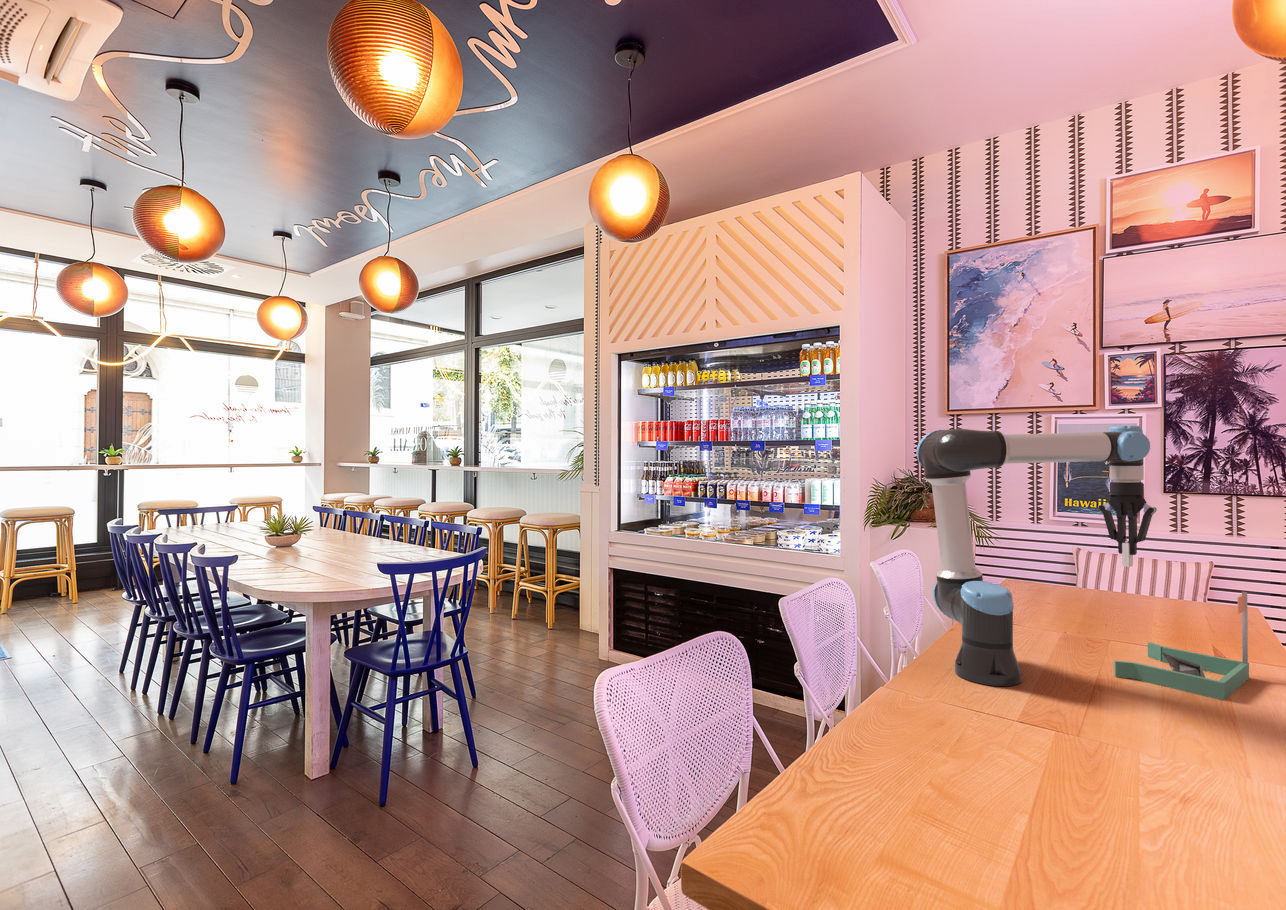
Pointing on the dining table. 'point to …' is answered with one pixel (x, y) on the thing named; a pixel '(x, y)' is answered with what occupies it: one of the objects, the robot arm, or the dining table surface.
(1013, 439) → the robot arm
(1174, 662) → the paper boat
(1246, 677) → the green u-shaped frame
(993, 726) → the dining table surface
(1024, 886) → the dining table surface
